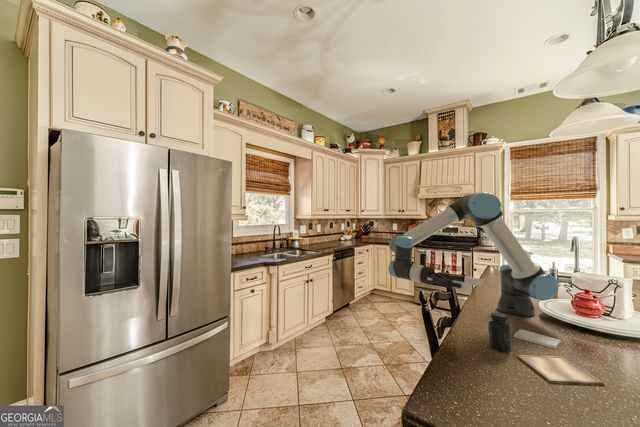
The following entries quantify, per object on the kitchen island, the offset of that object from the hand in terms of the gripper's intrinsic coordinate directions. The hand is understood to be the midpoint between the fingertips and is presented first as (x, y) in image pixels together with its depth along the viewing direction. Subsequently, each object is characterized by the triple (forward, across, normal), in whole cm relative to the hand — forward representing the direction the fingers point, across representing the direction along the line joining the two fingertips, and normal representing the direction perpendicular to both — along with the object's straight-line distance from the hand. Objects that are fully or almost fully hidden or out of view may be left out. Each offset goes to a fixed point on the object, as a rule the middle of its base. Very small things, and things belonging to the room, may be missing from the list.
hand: (477, 285), depth 101 cm
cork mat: (+24, +4, -20) cm, 31 cm away
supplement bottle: (+8, 0, -21) cm, 22 cm away
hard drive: (+16, -18, -20) cm, 31 cm away
